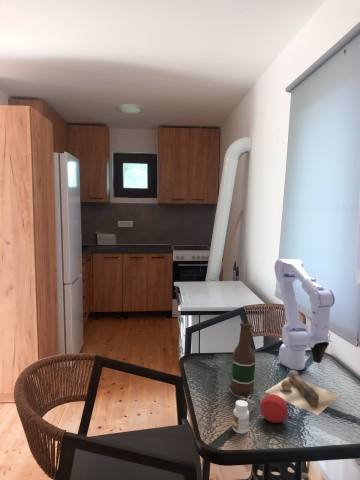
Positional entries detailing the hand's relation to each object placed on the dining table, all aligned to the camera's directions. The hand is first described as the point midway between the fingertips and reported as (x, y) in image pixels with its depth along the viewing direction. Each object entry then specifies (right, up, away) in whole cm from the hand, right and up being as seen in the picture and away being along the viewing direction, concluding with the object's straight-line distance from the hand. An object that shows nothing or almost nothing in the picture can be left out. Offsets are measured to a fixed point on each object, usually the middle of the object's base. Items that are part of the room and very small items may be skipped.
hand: (317, 361), depth 125 cm
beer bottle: (-27, -9, -4) cm, 29 cm away
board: (-8, -10, -7) cm, 14 cm away
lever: (-7, -8, -6) cm, 12 cm away
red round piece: (-21, -11, -20) cm, 31 cm away
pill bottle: (-31, -11, -25) cm, 41 cm away
